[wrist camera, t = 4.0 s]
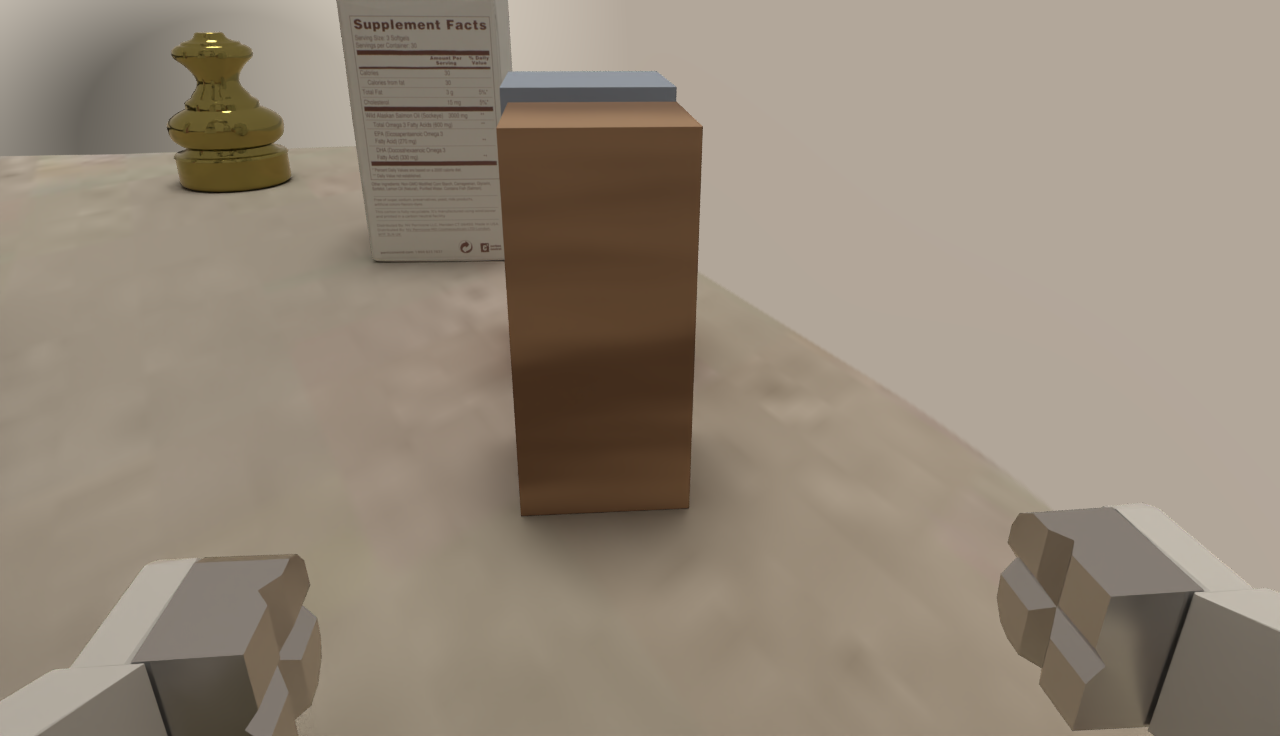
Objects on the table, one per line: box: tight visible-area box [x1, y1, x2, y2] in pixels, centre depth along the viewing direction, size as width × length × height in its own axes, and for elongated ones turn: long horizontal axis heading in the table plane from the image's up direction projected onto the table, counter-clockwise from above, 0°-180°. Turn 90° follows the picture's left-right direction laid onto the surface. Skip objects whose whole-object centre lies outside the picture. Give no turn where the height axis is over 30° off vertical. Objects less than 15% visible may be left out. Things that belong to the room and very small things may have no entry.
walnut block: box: [496, 102, 703, 516], centre depth 22 cm, size 4×4×10 cm
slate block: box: [499, 71, 676, 116], centre depth 29 cm, size 6×6×5 cm
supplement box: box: [336, 0, 512, 262], centre depth 43 cm, size 7×7×13 cm
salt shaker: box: [167, 32, 291, 192], centre depth 57 cm, size 7×7×10 cm
